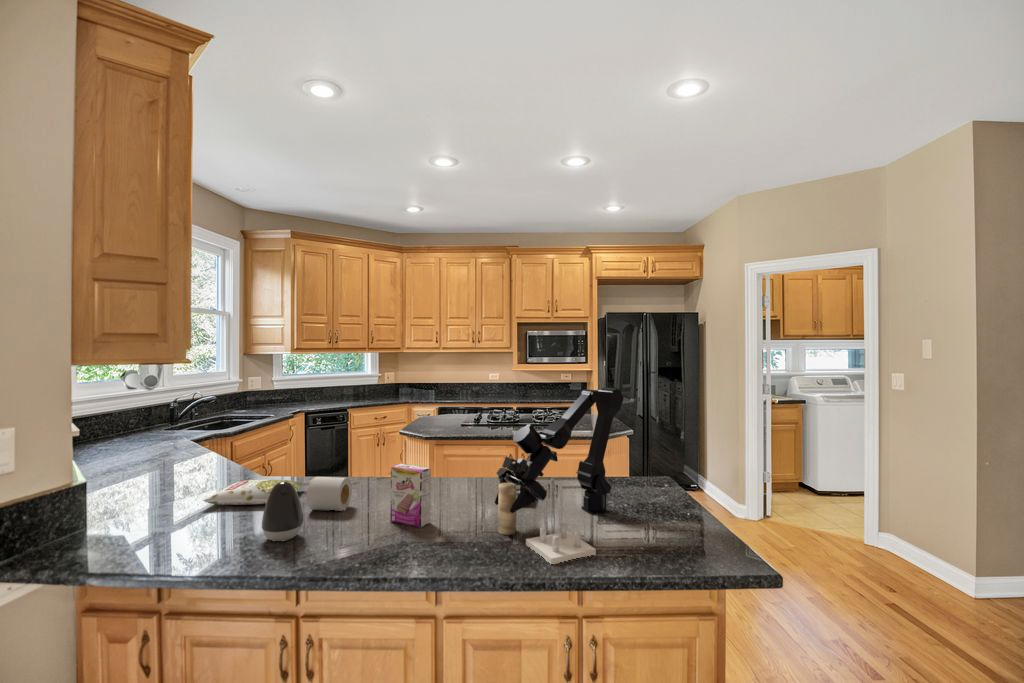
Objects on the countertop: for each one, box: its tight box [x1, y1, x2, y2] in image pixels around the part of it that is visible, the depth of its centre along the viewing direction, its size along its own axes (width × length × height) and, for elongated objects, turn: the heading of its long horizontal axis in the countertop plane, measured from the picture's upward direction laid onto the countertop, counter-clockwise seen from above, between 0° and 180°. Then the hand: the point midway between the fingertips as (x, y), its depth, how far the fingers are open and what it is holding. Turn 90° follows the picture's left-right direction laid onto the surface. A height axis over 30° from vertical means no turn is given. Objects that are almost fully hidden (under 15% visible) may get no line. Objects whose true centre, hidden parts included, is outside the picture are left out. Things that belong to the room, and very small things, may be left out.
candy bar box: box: [389, 463, 431, 528], centre depth 147 cm, size 11×5×16 cm, turn 65°
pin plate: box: [525, 522, 597, 565], centre depth 129 cm, size 13×13×5 cm
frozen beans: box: [201, 479, 305, 506], centre depth 167 cm, size 21×6×25 cm
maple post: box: [497, 483, 517, 536], centre depth 141 cm, size 5×5×13 cm
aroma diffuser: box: [261, 481, 304, 542], centre depth 135 cm, size 10×10×15 cm
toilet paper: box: [306, 476, 353, 512], centre depth 158 cm, size 10×10×10 cm
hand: (503, 508), depth 140 cm, fingers open, 8 cm apart
